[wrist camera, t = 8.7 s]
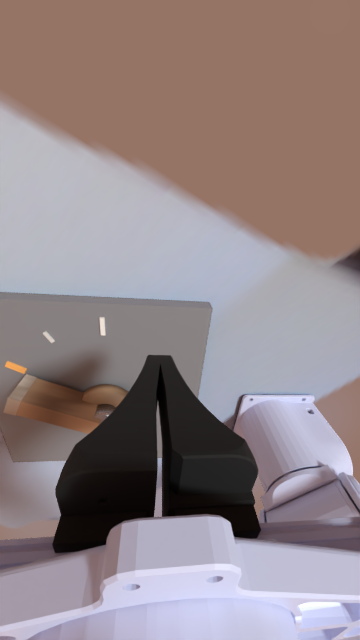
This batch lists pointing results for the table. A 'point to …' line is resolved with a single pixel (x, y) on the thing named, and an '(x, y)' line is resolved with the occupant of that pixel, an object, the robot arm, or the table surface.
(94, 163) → the table surface
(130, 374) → the dial plate
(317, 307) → the table surface
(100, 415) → the dial
